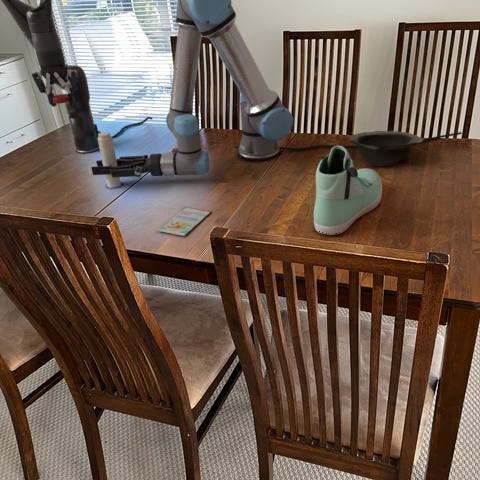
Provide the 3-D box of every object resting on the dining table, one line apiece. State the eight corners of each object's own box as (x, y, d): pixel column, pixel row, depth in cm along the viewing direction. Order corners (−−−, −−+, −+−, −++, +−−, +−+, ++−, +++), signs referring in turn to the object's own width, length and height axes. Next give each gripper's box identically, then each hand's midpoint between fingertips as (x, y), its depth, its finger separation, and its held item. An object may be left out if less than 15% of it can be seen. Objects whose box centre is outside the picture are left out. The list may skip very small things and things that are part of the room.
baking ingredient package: (157, 229, 135) (185, 206, 146) (157, 231, 135) (185, 208, 146) (183, 235, 131) (210, 211, 142) (183, 236, 131) (210, 212, 143)
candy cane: (151, 162, 180) (151, 158, 180) (178, 149, 190) (177, 145, 190) (163, 165, 177) (162, 161, 176) (189, 151, 187) (189, 147, 187)
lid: (62, 98, 152) (61, 93, 151) (75, 99, 150) (73, 94, 149) (49, 103, 148) (48, 97, 147) (62, 104, 146) (60, 99, 145)
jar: (106, 188, 163) (95, 136, 153) (108, 182, 167) (97, 131, 157) (120, 187, 163) (110, 135, 154) (121, 181, 167) (111, 130, 158)
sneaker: (389, 187, 148) (396, 123, 138) (356, 242, 123) (361, 168, 112) (346, 181, 154) (350, 119, 144) (306, 232, 129) (307, 161, 118)
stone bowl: (381, 177, 154) (382, 149, 150) (333, 159, 175) (333, 134, 170) (437, 158, 163) (440, 131, 159) (386, 143, 183) (387, 119, 179)
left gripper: (19, 51, 138) (36, 110, 147) (66, 49, 137) (81, 108, 145) (30, 47, 144) (46, 103, 153) (76, 44, 143) (89, 101, 152)
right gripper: (159, 186, 154) (89, 189, 156) (169, 164, 170) (105, 167, 171) (155, 164, 151) (83, 167, 152) (165, 144, 166) (100, 147, 167)
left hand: (63, 105), depth 149 cm, fingers closed on lid, 5 cm apart
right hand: (95, 167), depth 162 cm, fingers closed on jar, 5 cm apart
